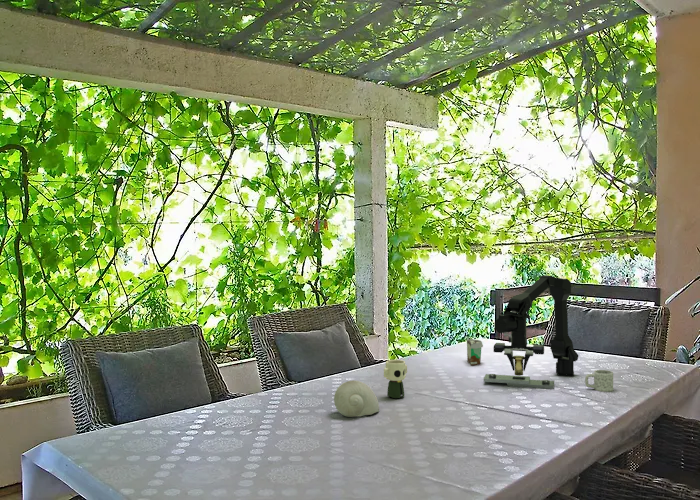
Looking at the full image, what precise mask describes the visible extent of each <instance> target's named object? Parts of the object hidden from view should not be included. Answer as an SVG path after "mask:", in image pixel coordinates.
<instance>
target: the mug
mask: <svg viewBox="0 0 700 500" xmlns="http://www.w3.org/2000/svg"><path fill="white" fill-rule="evenodd" d="M589 378H593V384H589ZM584 381H585V386H586V387H587V388H590V389H591V388H592V389H593V390H595V391H597V392H604V393H611V392H613V391H614V371H612V370H606V369H597V370H594V372H593V373H589V374H586V375H585V378H584Z"/></svg>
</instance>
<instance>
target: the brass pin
mask: <svg viewBox="0 0 700 500" xmlns="http://www.w3.org/2000/svg"><path fill="white" fill-rule="evenodd" d="M513 359H514V376H524V371H523V367H524V359H525V355H513Z"/></svg>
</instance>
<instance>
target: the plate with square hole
mask: <svg viewBox="0 0 700 500" xmlns="http://www.w3.org/2000/svg"><path fill="white" fill-rule="evenodd" d="M483 382H484V383H496V384H497V383H500V384H501V383H502V384H507V385H506V386H507V387H514V388H516V387H517V388H527V389H528V388H529V389H530V388H531V389H546V390H555V380H548V379H542V380H541V379H531V376H527V375H521V376H518V375H506V374H496V373H486V374H485V375H484V377H483Z"/></svg>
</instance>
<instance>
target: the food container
mask: <svg viewBox="0 0 700 500" xmlns="http://www.w3.org/2000/svg"><path fill="white" fill-rule="evenodd" d="M483 347H484V344H483V341H482V340H478V339H473V338H467V339H466V355H467V356H466V357H467V358H466V359H467V360H466V361H467V363H468V364H469V366H470V367H474V366H480V365H481V359H482V348H483Z"/></svg>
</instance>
